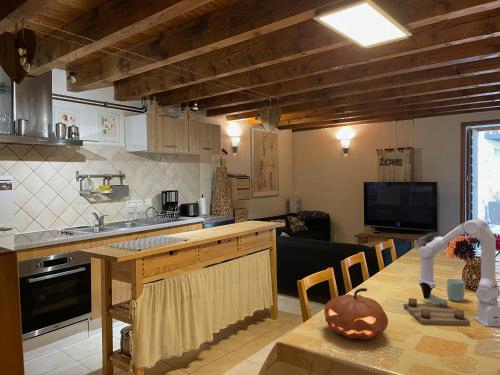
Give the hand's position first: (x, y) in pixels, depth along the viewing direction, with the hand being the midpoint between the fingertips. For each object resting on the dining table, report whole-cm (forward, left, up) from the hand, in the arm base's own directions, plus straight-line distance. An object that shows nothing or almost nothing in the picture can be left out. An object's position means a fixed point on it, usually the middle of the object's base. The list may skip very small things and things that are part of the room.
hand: (426, 298), depth 177 cm
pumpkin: (-34, +42, -4) cm, 55 cm away
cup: (+8, -18, -4) cm, 20 cm away
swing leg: (-3, -3, -1) cm, 4 cm away
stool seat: (-14, +2, -3) cm, 15 cm away
